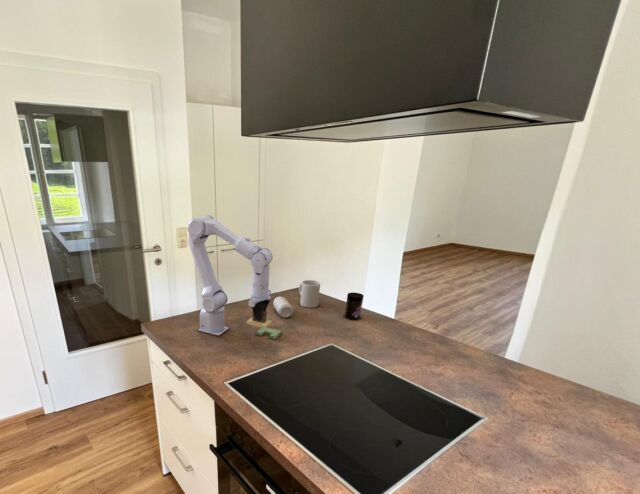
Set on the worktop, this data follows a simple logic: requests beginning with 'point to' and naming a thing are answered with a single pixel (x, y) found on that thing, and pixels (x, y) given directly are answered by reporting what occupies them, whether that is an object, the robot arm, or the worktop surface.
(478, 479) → the worktop surface
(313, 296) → the mug
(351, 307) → the supplement container
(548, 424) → the worktop surface
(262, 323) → the tab pad
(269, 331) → the notch pad
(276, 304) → the beverage can
